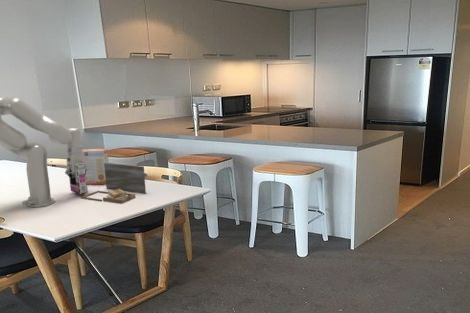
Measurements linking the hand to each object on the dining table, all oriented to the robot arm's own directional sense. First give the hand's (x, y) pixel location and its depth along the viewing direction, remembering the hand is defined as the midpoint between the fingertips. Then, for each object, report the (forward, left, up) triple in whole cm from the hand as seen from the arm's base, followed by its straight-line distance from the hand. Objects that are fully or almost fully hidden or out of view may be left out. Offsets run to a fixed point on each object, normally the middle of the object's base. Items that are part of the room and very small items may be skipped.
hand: (78, 182), depth 222 cm
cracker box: (+20, +6, -7) cm, 22 cm away
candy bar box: (0, 0, -5) cm, 5 cm away
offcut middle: (-3, -29, -5) cm, 30 cm away
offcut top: (-3, -29, -3) cm, 30 cm away
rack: (+1, -23, -6) cm, 24 cm away
